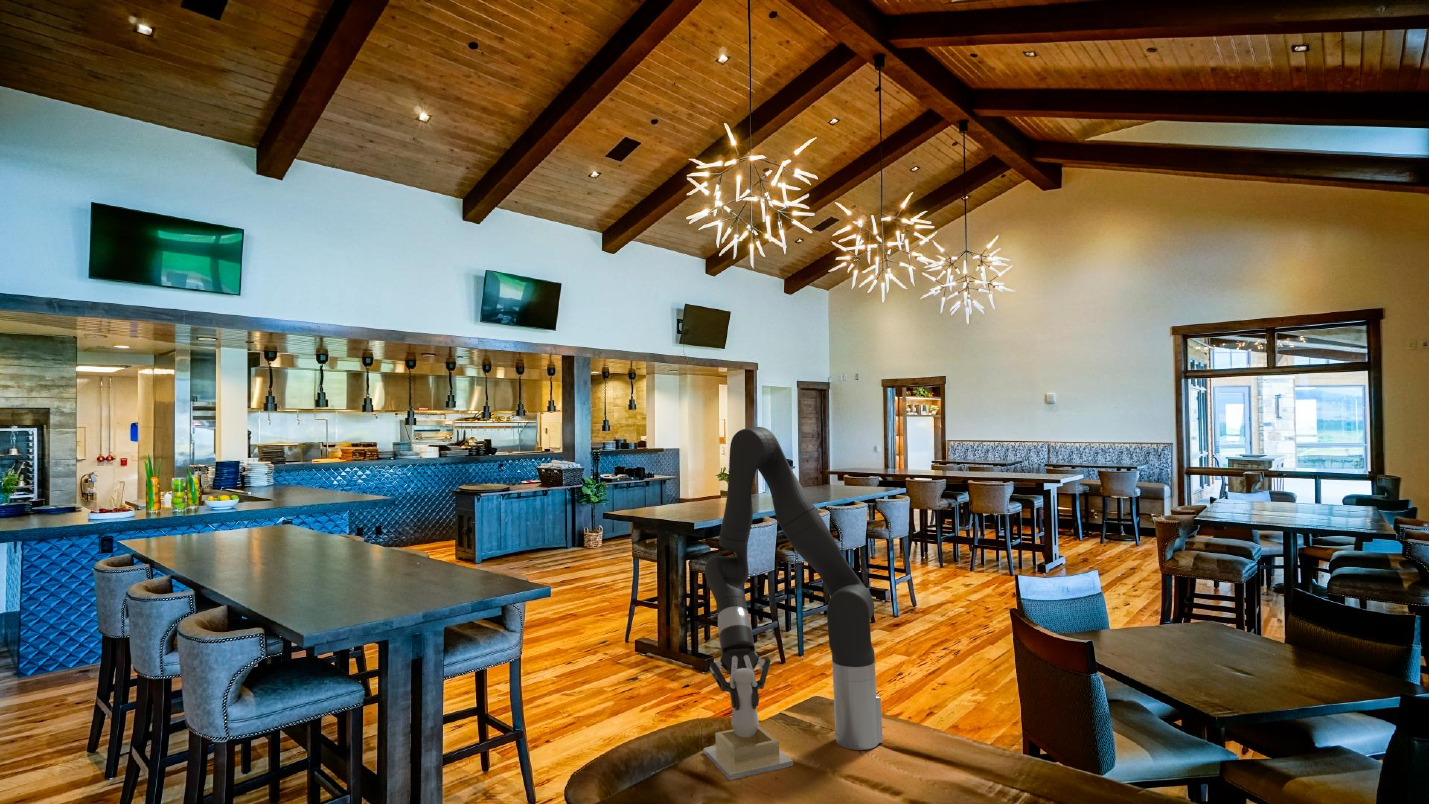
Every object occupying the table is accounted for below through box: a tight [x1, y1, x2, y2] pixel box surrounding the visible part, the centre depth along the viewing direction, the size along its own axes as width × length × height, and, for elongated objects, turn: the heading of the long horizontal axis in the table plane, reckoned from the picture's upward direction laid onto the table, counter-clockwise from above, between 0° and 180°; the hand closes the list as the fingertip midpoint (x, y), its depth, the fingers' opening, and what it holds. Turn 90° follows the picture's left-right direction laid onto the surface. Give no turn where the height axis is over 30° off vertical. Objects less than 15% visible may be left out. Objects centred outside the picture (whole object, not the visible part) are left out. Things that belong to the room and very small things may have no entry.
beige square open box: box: [703, 724, 794, 781], centre depth 145 cm, size 14×14×4 cm
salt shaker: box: [730, 668, 760, 737], centre depth 146 cm, size 6×6×13 cm
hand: (746, 707), depth 144 cm, fingers closed on salt shaker, 3 cm apart
